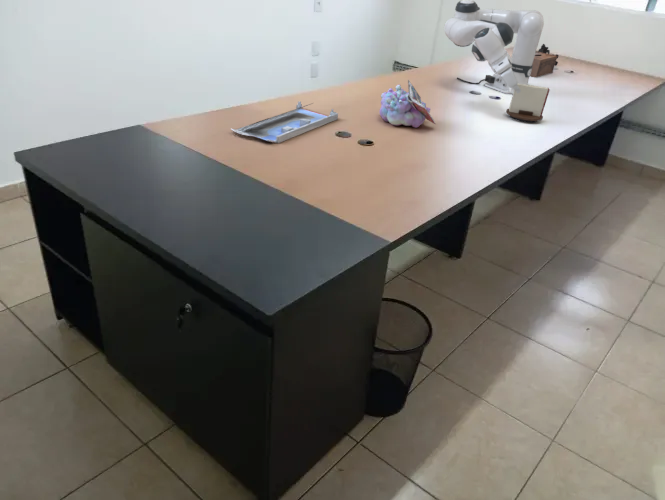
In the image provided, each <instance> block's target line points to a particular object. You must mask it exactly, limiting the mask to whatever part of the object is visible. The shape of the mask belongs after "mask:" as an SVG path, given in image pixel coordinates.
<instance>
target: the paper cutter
mask: <svg viewBox="0 0 665 500" xmlns="http://www.w3.org/2000/svg"><path fill="white" fill-rule="evenodd" d="M313 104H314V102H312V103H309V104H306V105H302V101H297V104H296V107H295V109H292V110H289V111H287V112H284V113H281V114H277V115H275V116H271V117H269V118H268V117H267V118H266V119H262V120H259V121H257V122H254V123H251V124H248V125H245V126H243V127H239V128H237V129H235V128H230V130H231V131H233V132H235V133H237V134H239V135H243V136H249V137H255V138H258V139H261V140H263V141H267V142H270V143H271V142H272V143H276V144H280V143H282V142H285V141H287V140H290V139H292V138H295V137H297V136H299V135H303V134H304V133H307V132H310V131H313V130H315V129H316V128H320V127H322V126H324V125H327V124H330V123H331V122H332V123H333V122H334V121H337V120H338V119H339V112H336V111H334V108H331V111H330V112H329V115H326V114H322V113H319V112H315V111H312V110H310V109H309V110H308V109H306V108H305V107H307V106H311V105H313Z"/></svg>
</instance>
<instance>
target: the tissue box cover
mask: <svg viewBox="0 0 665 500" xmlns="http://www.w3.org/2000/svg"><path fill="white" fill-rule="evenodd" d="M555 55H556V54H550V53H549V54H548V53H542V52H538V51H537V50H536V53H535V57H534V60H533V64H532V66H533V67H532V71H531V74H530V77H533V78H539V77H542V76H546V75H549V74H553V72H554V69H555V66H556V65H555V63H556V61H557V59H558V58H557V56H555Z"/></svg>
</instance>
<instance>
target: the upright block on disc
mask: <svg viewBox="0 0 665 500" xmlns="http://www.w3.org/2000/svg"><path fill="white" fill-rule="evenodd" d="M517 85H518V87H519V89H520V90H521V92H520V93H517V92H516V91H515V90H514V91H513V94H511V95H512V96H511V99H510V103H509V106H508V108H507V109H506V110H505V113H506V114H507V115H508V116H509V117H510V116H512V117H515V118H518V119H522V120H528V121H537V122H538V121H542V120H543V119H544V116H543V113H544V110H545V107H546V103H547V100H548V96H549V93H550V91H551V89H550V87H545V86H538V85H532V84H528V85H526V84H519V83H518V84H517Z"/></svg>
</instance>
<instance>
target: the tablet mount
mask: <svg viewBox="0 0 665 500" xmlns="http://www.w3.org/2000/svg"><path fill="white" fill-rule="evenodd" d="M550 51H551V50H550V49H549V47H548V46H546V44H545V43H543V44H541V46H540V48H539V49H538V51H537V52H542V53H546V54H550ZM554 55H555V56H557V59H558V58H559V54H554ZM558 64H559V62H558V61H557V60H556V63H555V66H557V65H558Z"/></svg>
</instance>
